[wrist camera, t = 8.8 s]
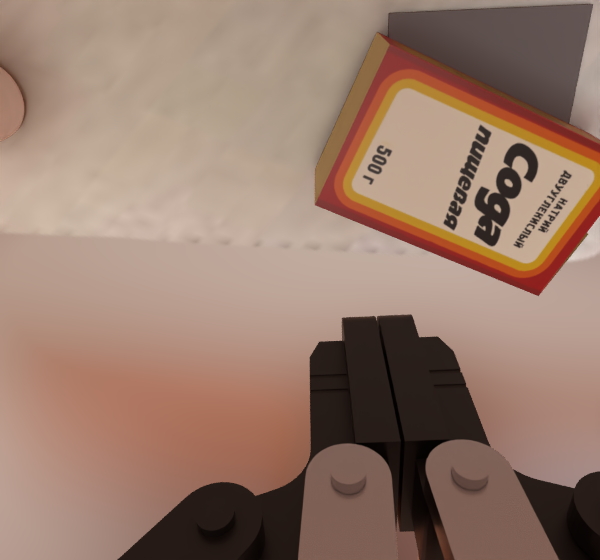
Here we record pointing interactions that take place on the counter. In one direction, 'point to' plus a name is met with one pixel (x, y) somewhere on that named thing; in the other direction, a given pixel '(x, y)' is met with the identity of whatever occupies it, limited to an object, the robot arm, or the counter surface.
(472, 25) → the mat
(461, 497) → the robot arm
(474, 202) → the baking soda box
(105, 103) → the counter surface
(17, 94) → the pinkish beige cup
